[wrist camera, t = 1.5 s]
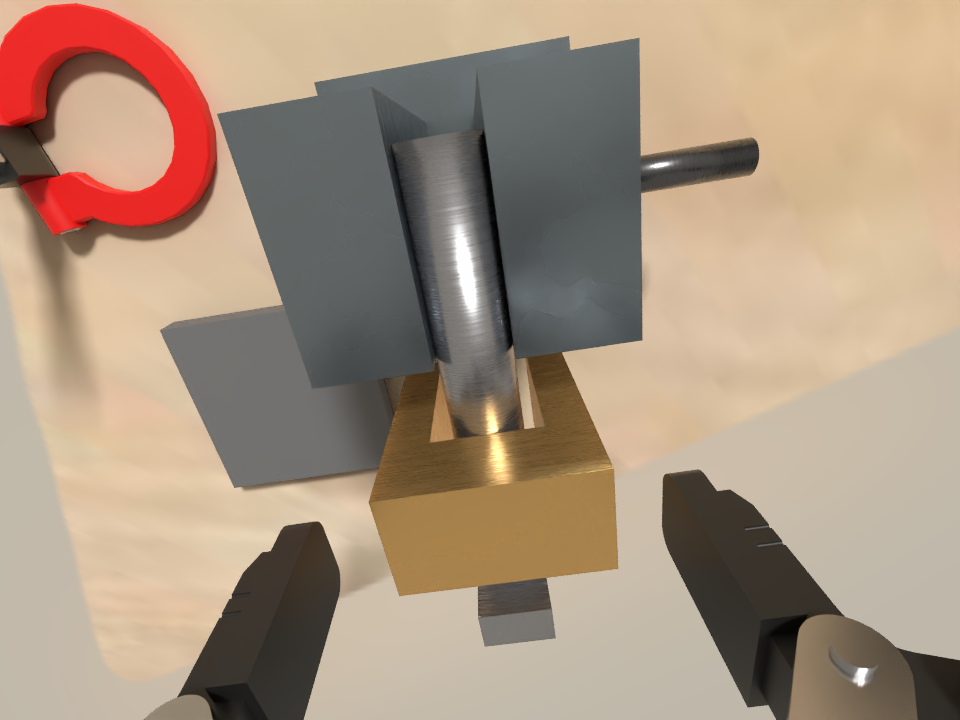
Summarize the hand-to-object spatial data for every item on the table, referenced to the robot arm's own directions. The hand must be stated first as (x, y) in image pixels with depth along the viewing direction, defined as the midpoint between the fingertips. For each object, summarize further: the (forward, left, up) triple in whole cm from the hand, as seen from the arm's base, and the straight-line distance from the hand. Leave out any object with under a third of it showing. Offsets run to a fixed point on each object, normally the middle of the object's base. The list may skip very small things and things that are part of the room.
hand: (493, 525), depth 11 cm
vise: (-3, -3, -15) cm, 15 cm away
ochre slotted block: (0, 0, -7) cm, 7 cm away
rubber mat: (+11, +3, -15) cm, 19 cm away
